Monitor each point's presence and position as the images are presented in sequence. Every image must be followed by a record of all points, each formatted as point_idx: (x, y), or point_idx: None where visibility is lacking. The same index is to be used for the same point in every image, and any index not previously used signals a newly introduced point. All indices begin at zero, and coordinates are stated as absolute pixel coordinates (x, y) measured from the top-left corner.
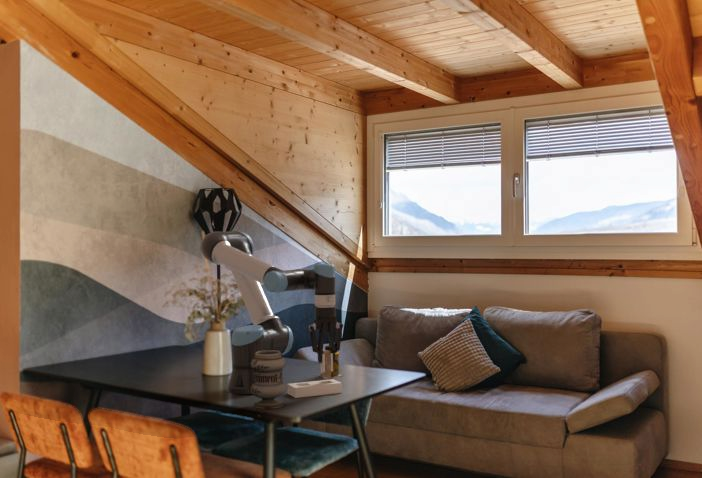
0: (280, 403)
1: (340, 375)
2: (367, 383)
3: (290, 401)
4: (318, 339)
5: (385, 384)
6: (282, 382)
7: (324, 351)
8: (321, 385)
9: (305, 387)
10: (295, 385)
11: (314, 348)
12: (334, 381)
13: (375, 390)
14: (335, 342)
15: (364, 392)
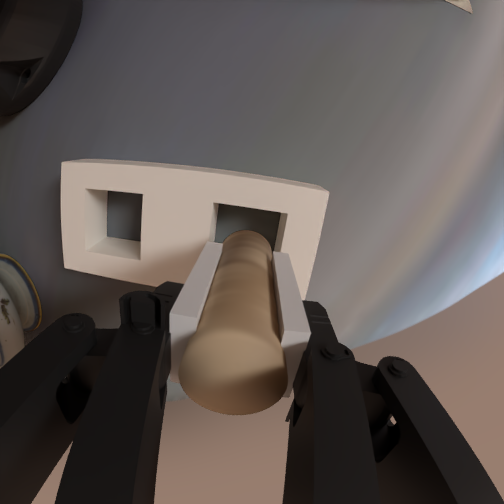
0: (32, 319)
1: (465, 5)
2: (477, 193)
3: (63, 289)
4: (68, 474)
5: (494, 253)
6: (2, 360)
7: (196, 390)
8: None
9: (106, 275)
10: (76, 222)
11: (57, 398)
12: (295, 252)
13: (414, 318)
14: (402, 451)
15: (365, 326)
